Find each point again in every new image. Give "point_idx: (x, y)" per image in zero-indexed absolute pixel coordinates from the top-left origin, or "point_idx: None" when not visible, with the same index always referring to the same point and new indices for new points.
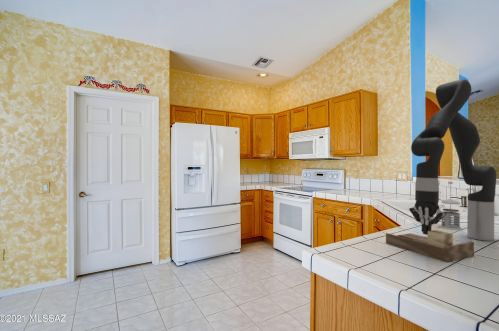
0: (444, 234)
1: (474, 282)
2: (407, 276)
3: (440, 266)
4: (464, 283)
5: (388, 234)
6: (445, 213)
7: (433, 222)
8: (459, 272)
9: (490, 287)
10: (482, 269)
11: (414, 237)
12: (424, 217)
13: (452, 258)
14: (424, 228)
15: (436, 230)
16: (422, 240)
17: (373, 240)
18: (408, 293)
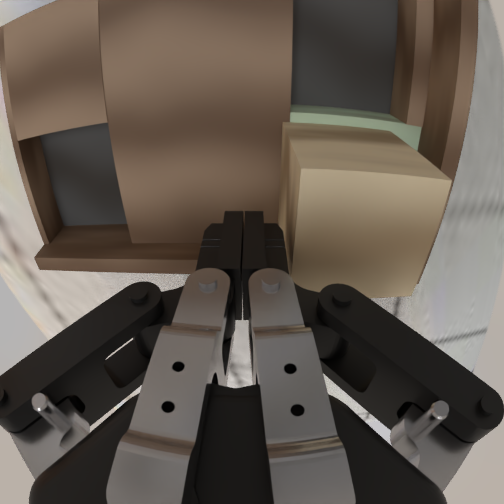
0: (413, 280)
1: (464, 320)
2: (347, 397)
3: (385, 300)
4: (446, 341)
5: (53, 269)
6: (499, 415)
7: (346, 357)
8: (436, 295)
9: (487, 314)
10: (488, 202)
11: (74, 87)
12: (222, 383)
13: None
14: (242, 291)
15: (317, 204)
16: (150, 97)
17: (31, 255)
18: (374, 419)
